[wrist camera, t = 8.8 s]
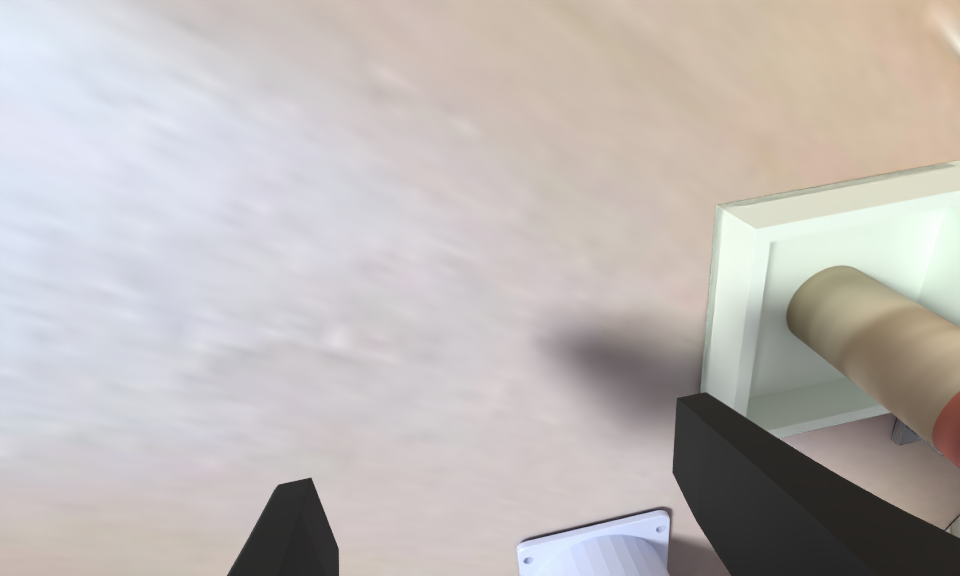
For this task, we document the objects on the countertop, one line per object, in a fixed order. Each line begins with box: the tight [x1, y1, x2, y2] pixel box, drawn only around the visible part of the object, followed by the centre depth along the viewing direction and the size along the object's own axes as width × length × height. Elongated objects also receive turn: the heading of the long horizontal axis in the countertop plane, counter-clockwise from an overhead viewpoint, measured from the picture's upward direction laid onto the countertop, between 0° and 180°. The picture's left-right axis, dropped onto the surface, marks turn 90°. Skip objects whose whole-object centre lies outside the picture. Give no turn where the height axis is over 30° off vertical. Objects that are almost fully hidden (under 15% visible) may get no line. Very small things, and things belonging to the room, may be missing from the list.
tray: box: [700, 160, 960, 438], centre depth 22 cm, size 10×10×2 cm
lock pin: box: [786, 265, 960, 468], centre depth 20 cm, size 4×4×8 cm
